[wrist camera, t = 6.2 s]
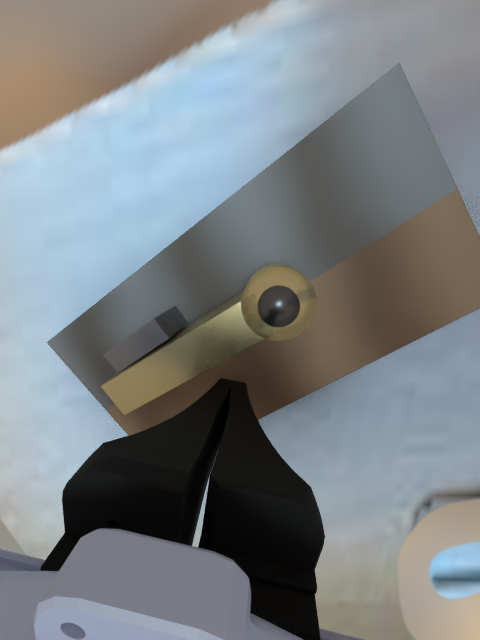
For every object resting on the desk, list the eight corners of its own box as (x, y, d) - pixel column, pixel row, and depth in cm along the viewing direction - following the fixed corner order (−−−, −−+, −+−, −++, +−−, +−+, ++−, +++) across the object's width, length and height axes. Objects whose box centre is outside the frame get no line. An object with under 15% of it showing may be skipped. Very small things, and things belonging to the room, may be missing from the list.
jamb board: (384, 84, 10) (399, 62, 9) (482, 290, 12) (506, 294, 10) (63, 335, 15) (46, 342, 14) (166, 454, 16) (158, 469, 15)
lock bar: (286, 250, 11) (294, 251, 8) (315, 301, 11) (333, 320, 8) (129, 350, 13) (87, 380, 10) (158, 388, 13) (127, 429, 10)
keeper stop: (175, 305, 12) (153, 318, 10) (187, 321, 12) (169, 338, 10) (132, 336, 13) (102, 354, 11) (144, 351, 13) (118, 372, 11)
